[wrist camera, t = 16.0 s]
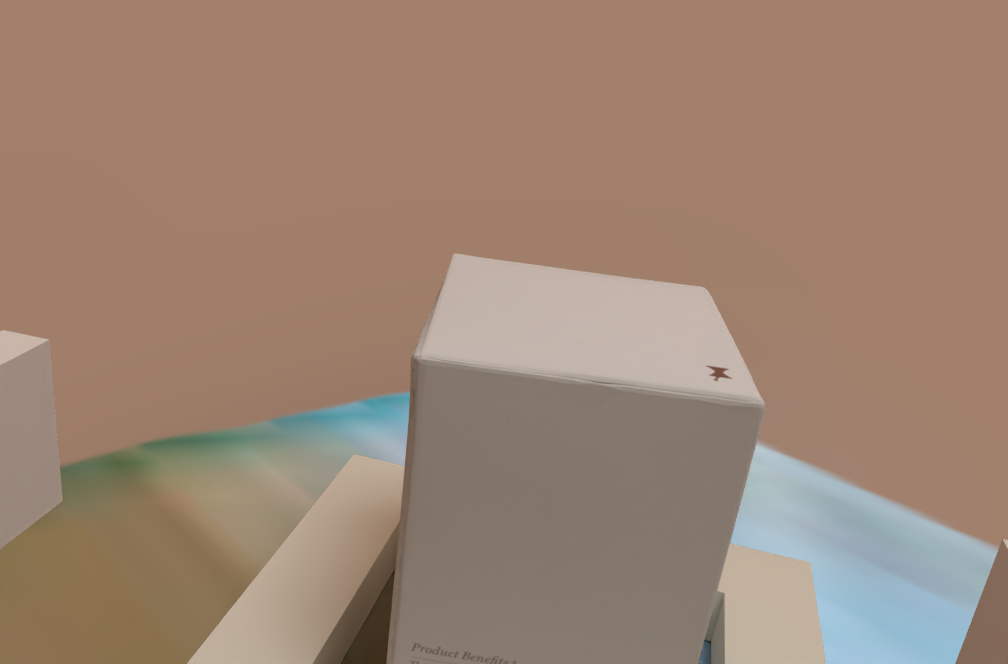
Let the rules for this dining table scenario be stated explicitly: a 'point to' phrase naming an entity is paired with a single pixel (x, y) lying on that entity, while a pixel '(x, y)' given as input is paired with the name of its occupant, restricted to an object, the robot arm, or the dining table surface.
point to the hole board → (372, 559)
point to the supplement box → (568, 469)
